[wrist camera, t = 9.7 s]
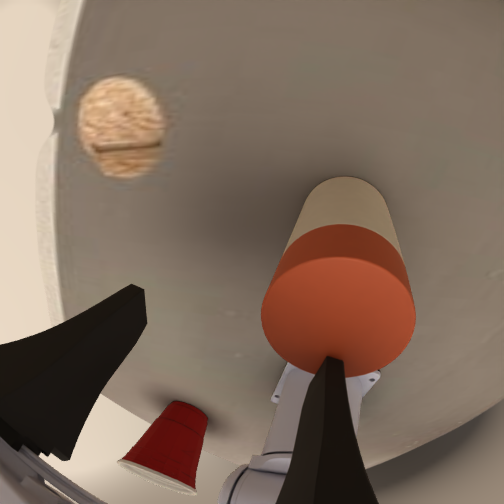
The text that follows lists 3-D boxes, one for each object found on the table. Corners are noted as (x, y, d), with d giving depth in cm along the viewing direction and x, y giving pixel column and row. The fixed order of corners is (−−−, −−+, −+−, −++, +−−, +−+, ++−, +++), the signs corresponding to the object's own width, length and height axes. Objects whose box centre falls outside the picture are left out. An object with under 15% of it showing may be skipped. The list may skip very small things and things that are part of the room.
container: (314, 164, 17) (281, 233, 9) (401, 193, 16) (444, 287, 8) (292, 243, 19) (247, 354, 11) (370, 268, 19) (373, 391, 11)
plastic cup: (215, 438, 42) (186, 501, 33) (152, 406, 42) (117, 467, 33) (237, 418, 36) (203, 499, 26) (160, 379, 36) (115, 455, 26)
